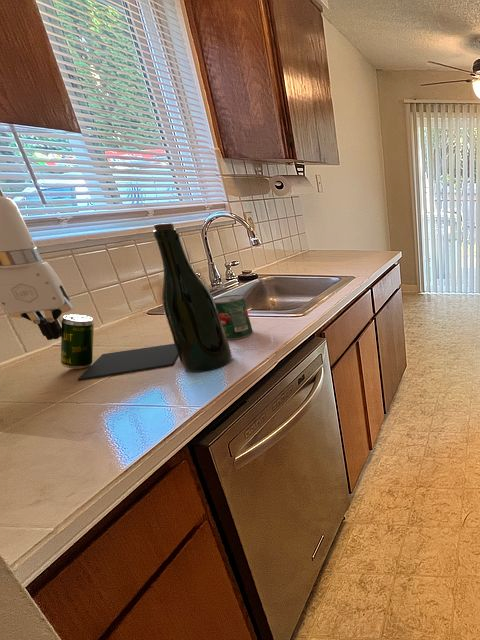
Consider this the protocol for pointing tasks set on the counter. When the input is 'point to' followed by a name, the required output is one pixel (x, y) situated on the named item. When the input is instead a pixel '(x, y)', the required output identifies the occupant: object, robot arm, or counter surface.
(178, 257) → the green wine bottle
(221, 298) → the canned tomato
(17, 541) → the counter surface
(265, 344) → the counter surface
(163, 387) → the counter surface
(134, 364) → the rubber mat
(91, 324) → the beer can
